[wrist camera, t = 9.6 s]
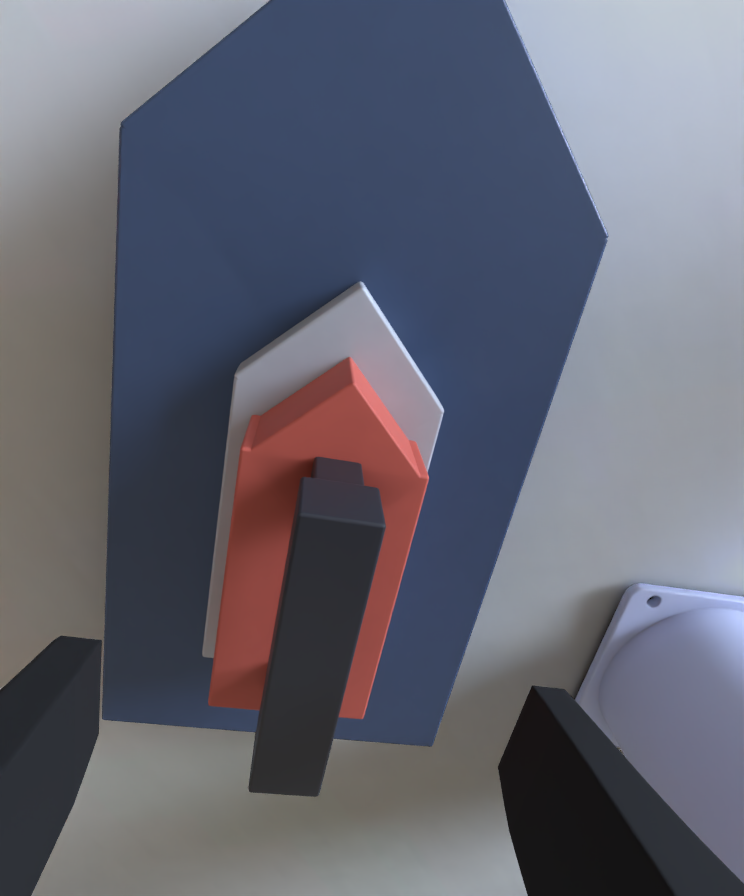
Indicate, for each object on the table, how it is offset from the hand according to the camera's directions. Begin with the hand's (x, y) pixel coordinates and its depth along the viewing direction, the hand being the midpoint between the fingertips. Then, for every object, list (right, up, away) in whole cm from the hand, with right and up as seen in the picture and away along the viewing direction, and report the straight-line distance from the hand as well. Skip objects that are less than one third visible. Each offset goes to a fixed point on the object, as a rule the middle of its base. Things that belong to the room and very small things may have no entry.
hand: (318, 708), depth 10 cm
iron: (-1, +3, +6) cm, 7 cm away
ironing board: (0, +6, +8) cm, 10 cm away
